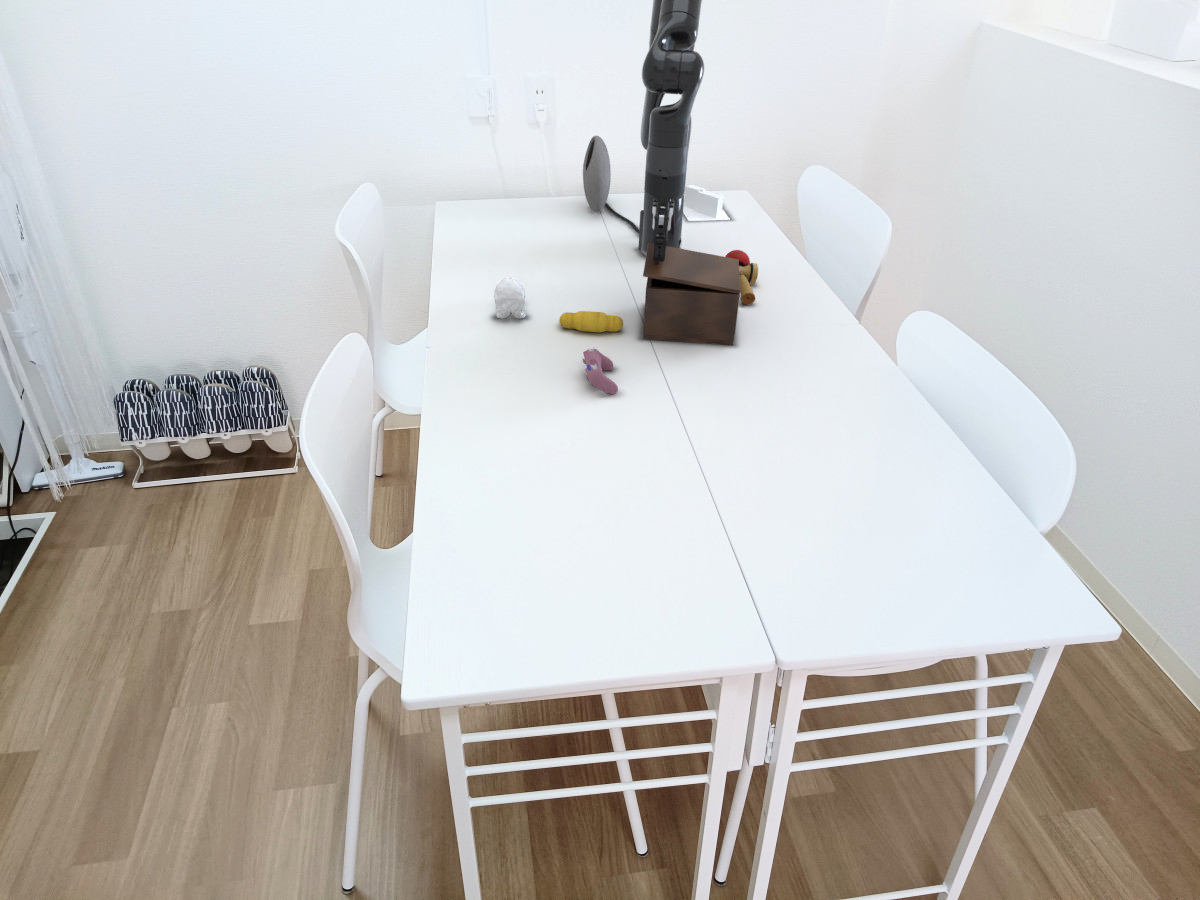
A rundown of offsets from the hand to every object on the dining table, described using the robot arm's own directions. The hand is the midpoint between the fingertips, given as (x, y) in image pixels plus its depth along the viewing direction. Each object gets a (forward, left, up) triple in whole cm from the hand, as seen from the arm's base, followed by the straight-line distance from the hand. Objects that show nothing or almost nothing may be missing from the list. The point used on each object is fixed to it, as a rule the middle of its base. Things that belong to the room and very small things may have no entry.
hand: (659, 253), depth 169 cm
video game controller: (+10, -24, -15) cm, 30 cm away
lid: (+5, +4, -3) cm, 7 cm away
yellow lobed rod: (-6, -12, -15) cm, 20 cm away
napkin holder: (-38, +56, -15) cm, 69 cm away
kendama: (0, +27, -15) cm, 31 cm away
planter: (-56, +34, -15) cm, 67 cm away
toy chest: (+5, +5, -15) cm, 16 cm away
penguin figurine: (-23, -19, -15) cm, 34 cm away
